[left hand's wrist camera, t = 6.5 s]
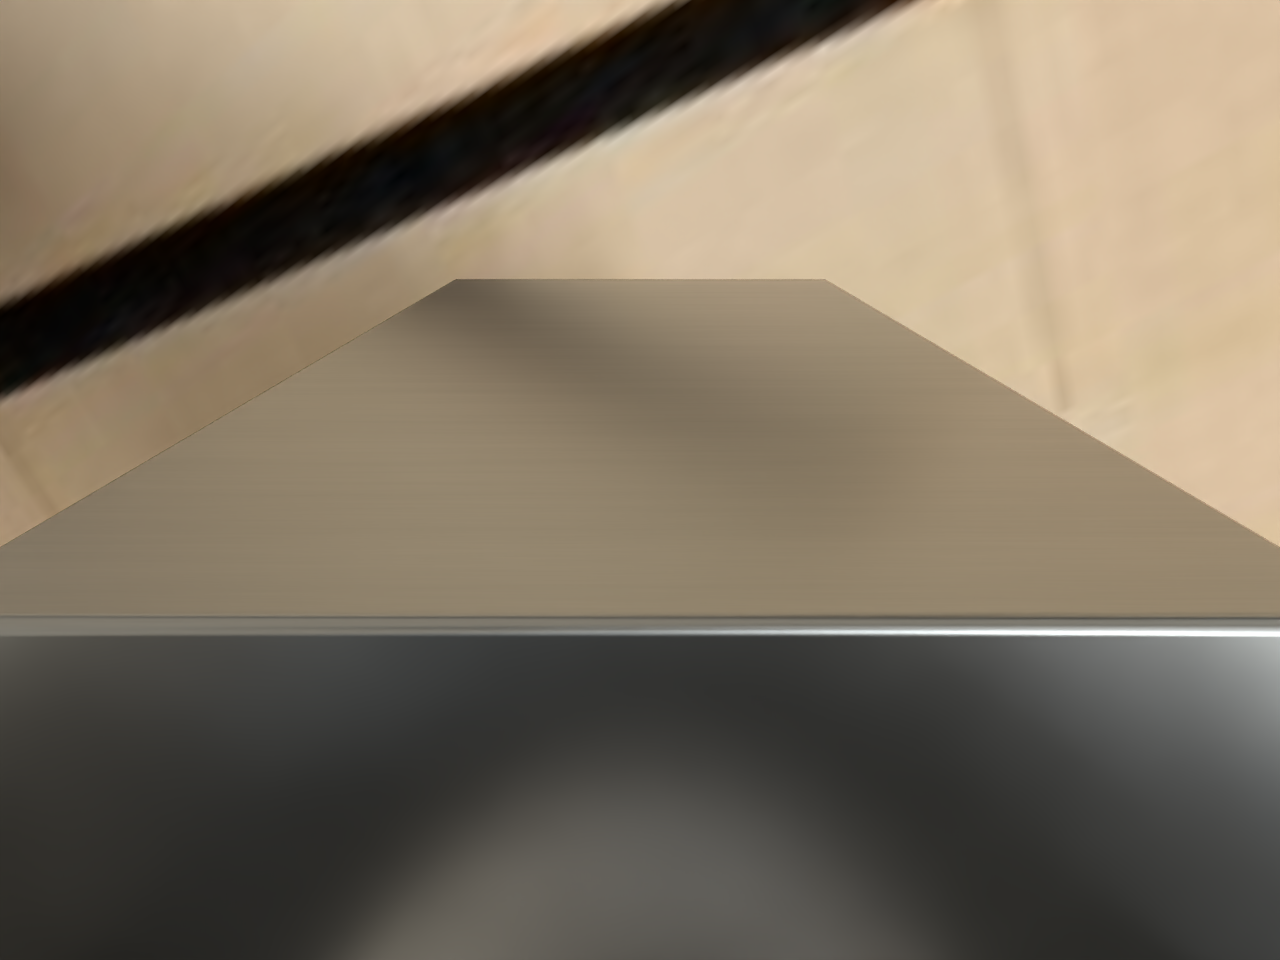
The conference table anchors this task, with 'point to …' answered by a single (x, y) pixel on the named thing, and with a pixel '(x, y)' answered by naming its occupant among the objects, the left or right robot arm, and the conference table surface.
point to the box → (640, 660)
